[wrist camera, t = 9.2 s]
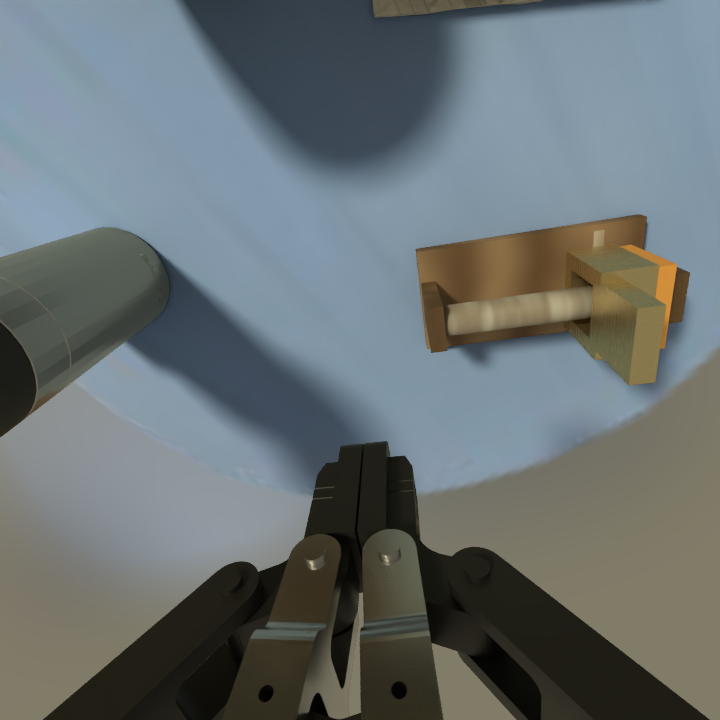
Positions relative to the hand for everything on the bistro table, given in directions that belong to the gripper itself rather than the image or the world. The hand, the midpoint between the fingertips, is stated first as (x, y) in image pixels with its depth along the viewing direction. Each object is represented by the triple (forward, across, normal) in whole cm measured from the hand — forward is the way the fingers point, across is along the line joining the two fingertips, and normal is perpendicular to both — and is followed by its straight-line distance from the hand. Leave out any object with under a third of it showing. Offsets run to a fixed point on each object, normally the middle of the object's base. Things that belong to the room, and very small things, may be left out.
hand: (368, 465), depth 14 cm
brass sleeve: (+24, -16, +4) cm, 29 cm away
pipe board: (+27, -12, +4) cm, 30 cm away
